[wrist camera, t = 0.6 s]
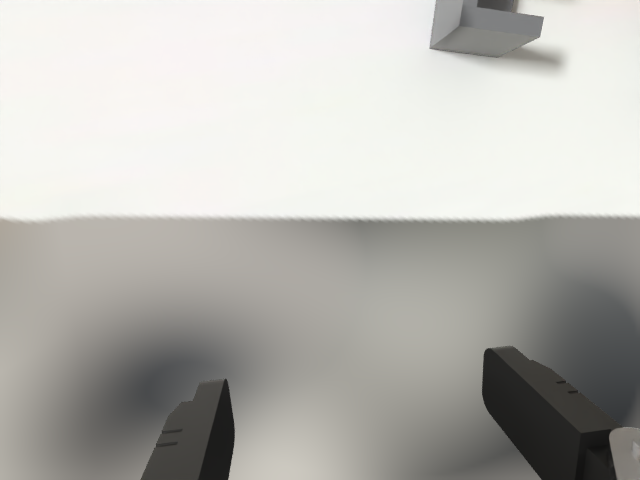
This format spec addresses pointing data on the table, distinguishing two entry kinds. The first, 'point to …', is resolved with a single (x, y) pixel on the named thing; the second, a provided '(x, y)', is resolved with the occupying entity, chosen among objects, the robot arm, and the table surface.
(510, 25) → the cap
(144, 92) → the table surface
